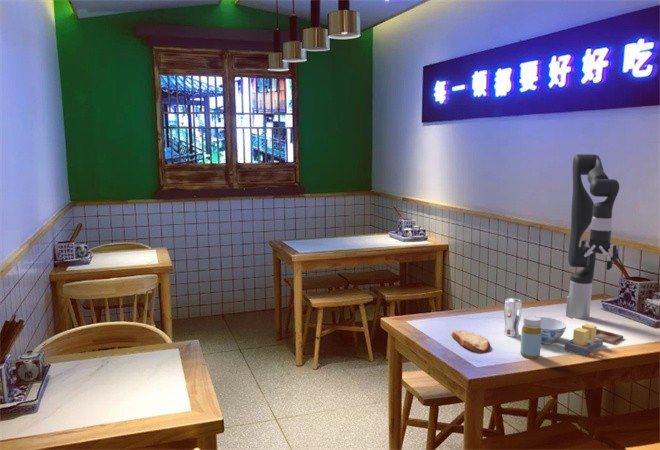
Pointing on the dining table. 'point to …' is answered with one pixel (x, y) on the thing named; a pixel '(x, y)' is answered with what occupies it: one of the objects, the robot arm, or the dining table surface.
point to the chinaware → (551, 329)
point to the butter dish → (592, 342)
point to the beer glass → (512, 316)
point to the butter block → (580, 337)
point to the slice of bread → (471, 341)
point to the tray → (608, 336)
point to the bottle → (531, 337)
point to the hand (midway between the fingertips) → (597, 267)
